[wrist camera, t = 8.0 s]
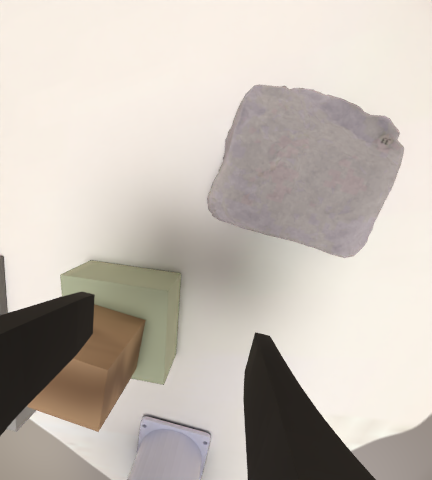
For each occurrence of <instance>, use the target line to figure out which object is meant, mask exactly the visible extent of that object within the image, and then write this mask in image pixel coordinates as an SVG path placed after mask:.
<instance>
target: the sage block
mask: <svg viewBox="0 0 432 480" xmlns="http://www.w3.org/2000/svg"><path fill="white" fill-rule="evenodd" d="M60 278H61V289H62V297H63V296H66V295H70V294H73V293H77V292H86V293H91V294H95V298H94V304H95V305H98V306H101V307H105V308H108V309H111V310H114V311H118V312H121V313H124V314H127V315H131V316H134V317H137V318H140V319H144V320H146V321H145V326H144V331H143V336H142V341H141V347H140V352H139V357H138V362H137V367H136V370H135V372H134V374H133V375H132V377H131V379H136V380H141V381H147V382H152V383H157V384H163V385H164V383H165V381H166V378H167V376H168V373H169V371H170V368H171V365H172V363H173V360H174V358H175V355H176V347H177V331H178V315H179V299H180V283H181V273H176V272H169V271H162V270H155V269H148V268H141V267H134V266H127V265H120V264H113V263H106V262H98V261H91V260H90V261H88V262H86V263H84V264H82V265H80V266H78V267H76V268H73V269H71V270H69V271H67V272H65V273H63V274H61V275H60Z"/></svg>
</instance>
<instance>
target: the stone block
mask: <svg viewBox="0 0 432 480" xmlns="http://www.w3.org/2000/svg"><path fill="white" fill-rule="evenodd" d="M399 134H400V133H399V130H398V129H397V128H396V127H395V126H394V124H393V123H392V121H391V120H390V118H387V117H385V116H378V115H370V114H368V113H365V112H364V111H363V110H362V109H361V108H360V107H359V106H357V105H355V104H353V103H350V102H348V101H346V100H344V99H341V98H338V97H334V96H330V95H324V94H322V93H320V92H317V91H314V90H311V89H304V88H293V89H288V88H287V87H286V86H282V87H278V86H267V85H255V86H253V88H252V89H251V90H250V91H248V92H247V93H246V95H245V96H244V98H243V100H242V101H241V103H240V106H239V108H238V110H237V113H236V115H235V118H234V120H233V125H232V127H231V129H230V130H229V132H228V136H227V138H226V141H225V142H226V143H225V154H224V157H223V163H222V165H221V167H220V169H219V173H218V175H217V176H216V178H215V180H214V182H213V184H212V187H211V190H210V192H209V195H208V209H209V211H210V212H211V213H212V215H213V216H214V217H216V218H217V219H219V220H221V221H224V222H228V223H230V224H233V225H236V226H239V227H242V228H245V229H249V230H253V231H256V232H259V233H263V234H266V235H270V236H274V237H278V238H283V239H287V240H291V241H294V242H298V243H301V244H304V245H307V246H310V247H314V248H317V249H319V250H322V251H324V252H327V253H329V254H332V255H336V256H339V257H344V258H346V257H351V256H354V255H355V254H356V253H358V252H359V251H360V250H361V249H362V247H363V246H364V245H365V244H366V242H367V240H368V236H369V234H370V233H371V231H372V229H373V225H374V222H375V220H376V218H377V216H378V214H379V212H380V210H381V208H382V206H383V204H384V202H385V200H386V198H387V196H388V194H389V192H390V191H391V189H392V186H393V184H394V181H395V179H396V176H397V173H398V170H399V168H400V165H401V162H402V157H403V152H404V147H403V146H402V145H401V144H400V142H399V141H398V140H397V139H398V137H399Z"/></svg>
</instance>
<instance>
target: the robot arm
mask: <svg viewBox="0 0 432 480" xmlns="http://www.w3.org/2000/svg"><path fill="white" fill-rule="evenodd" d="M94 298H95V294H91V293H86V292H77V293H73V294H70V295H66V296H63V297H59V298H56V299H53V300H50V301H46V302H43V303H40V304H37V305H33V306H30V307H27V308H24V309H20V310H17V311H13V312H10V313H6V314H3V315H0V435H1V434H2V433H3V432H4V431H5V430H6V429H7V427H8V426H9V425H10V424H11V423H12V421H13V420H14V419H15V418H16V417H17V416H18V415H19V414H20V413H21V412H22V411H23V410H24V408H25V407H26V406H27V405H28V404H29V403H30V402H31V401H32V400H33V399H34V398H35V397H36V396H37V395H38V394H39V393H40V392H41V391H42V390H43V389H44V388H45V387H46V386H47V385H48V384H49V383H50V382H51V381H52V380H53V379H54V378H55V377H56V376H57V375H58V374H59V373H60V372H61V371H62V370H63V368H64V367H65V366H66V365H67V364H68V363H69V362H70V361H71V360H72V359H73V358H74V357H75V356H76V355H77V354H78V352H79V351H80V350H81V349H82V347H83V346H84V345H85V343H86V342H87V341H88V339H89V338H90V337H91V335H92V334H93V321H94ZM244 416H245V434H246V452H247V469H248V480H376V479H375V478H374V477H373V476H372V475H371V474H370V473H369V472H368V471H367V469H365V467H364V466H363V465H362V464H361V463H360V462H359V461H358V460H357V458H356V457H355V456H354V455H353V454H352V452H351V451H350V450H349V449H348V448H347V447H346V445H345V444H344V443H343V442H342V441H341V439H340V438H339V437H338V436H337V434H336V433H335V432H334V431H333V429H332V428H331V427H330V426H329V424H328V423H327V422H326V421H325V419H324V418H323V417H322V415H321V414H320V413H319V411H318V410H317V409H316V407H315V406H314V405H313V403H312V402H311V400H310V399H309V398H308V396H307V395H306V393H305V392H304V390H303V389H302V388H301V386H300V384H299V383H298V381H297V380H296V378H295V377H294V375H293V374H292V372H291V370H290V369H289V367H288V366H287V364H286V362H285V361H284V359H283V357H282V356H281V354H280V352H279V351H278V349H277V347H276V345H275V344H274V342H273V340H272V339H271V337H270V336H268V335H264V334H259V333H255V336H254V339H253V343H252V347H251V350H250V354H249V358H248V362H247V365H246V369H245V378H244ZM210 439H211V436H210V434H209V433H206V432H202V431H199V430H195V429H192V428H188V427H184V426H181V425H177V424H173V423H170V422H166V421H162V420H159V419H155V418H151V417H148V416H144V417H143V418H142V420H141V425H140V433H139V441H138V448H137V456H136V458H135V461H134V463H133V466H132V468H131V471H130V473H129V476H128V478H127V480H201V477H202V473H203V469H204V464H205V460H206V456H207V452H208V448H209V444H210Z"/></svg>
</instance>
